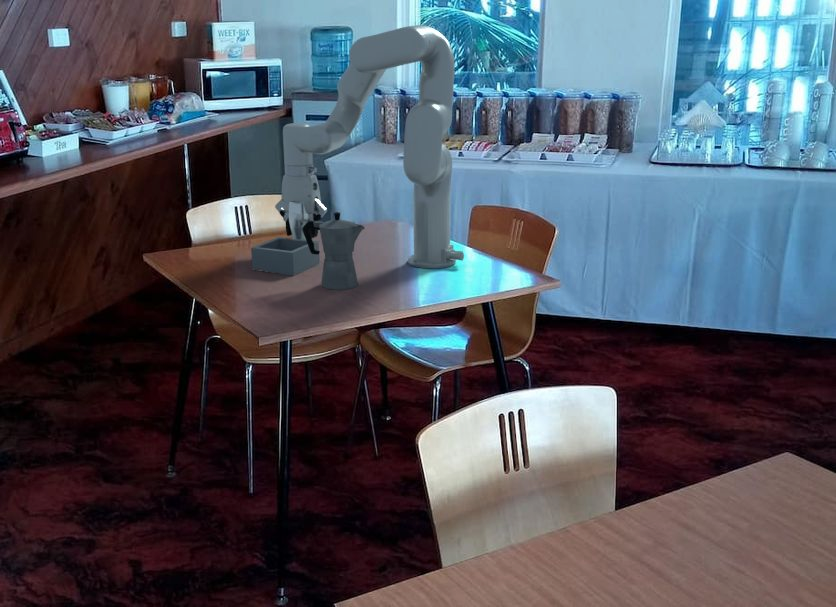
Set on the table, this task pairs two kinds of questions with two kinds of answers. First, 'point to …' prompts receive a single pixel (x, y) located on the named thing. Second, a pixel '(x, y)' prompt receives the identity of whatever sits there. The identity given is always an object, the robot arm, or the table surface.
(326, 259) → the coffeepot
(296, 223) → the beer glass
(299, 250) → the grey open box
